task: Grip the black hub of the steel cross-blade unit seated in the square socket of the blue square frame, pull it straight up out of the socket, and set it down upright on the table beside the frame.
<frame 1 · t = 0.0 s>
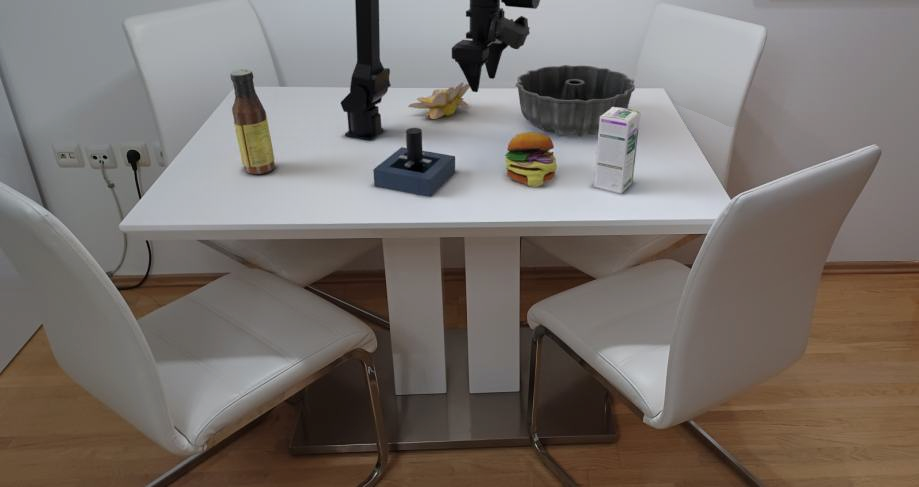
hand: (483, 84, 143), 15 cm above the table, tool pointing down, fingers open, 9 cm apart
syrup box: (612, 186, 137), on the table
cheeseburger: (529, 176, 141), on the table
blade: (414, 155, 137), in the blue square frame
blue square frame: (415, 179, 140), on the table
sauce bottle: (259, 170, 144), on the table
decorative flower: (444, 113, 172), on the table
bundt pan: (571, 124, 166), on the table
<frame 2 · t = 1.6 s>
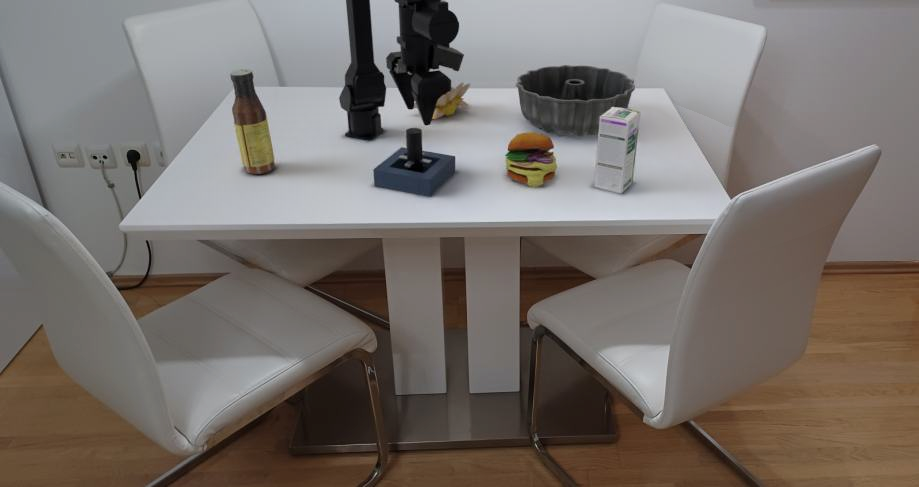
hand: (418, 116, 134), 12 cm above the table, tool pointing down, fingers open, 9 cm apart
nothing on the table moved.
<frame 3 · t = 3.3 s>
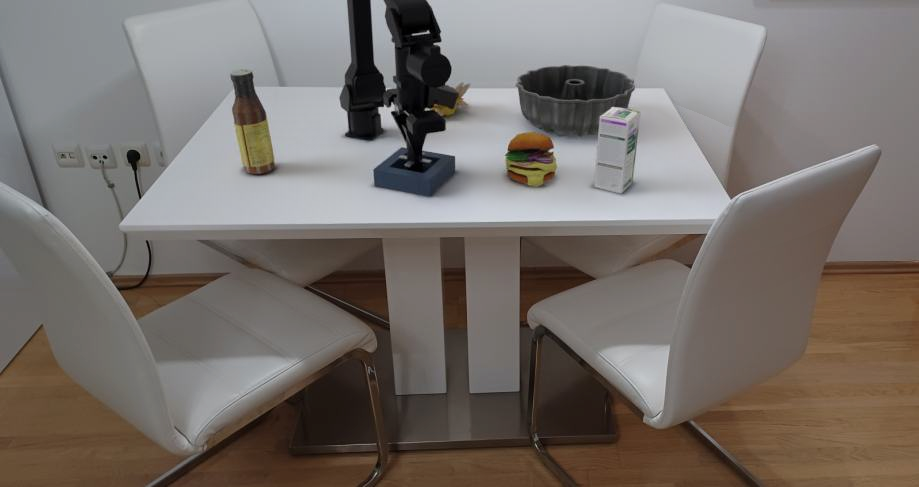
hand: (414, 152, 137), 6 cm above the table, tool pointing down, fingers closed on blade, 3 cm apart
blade: (414, 155, 137), in the blue square frame, touching gripper
everything else where it was.
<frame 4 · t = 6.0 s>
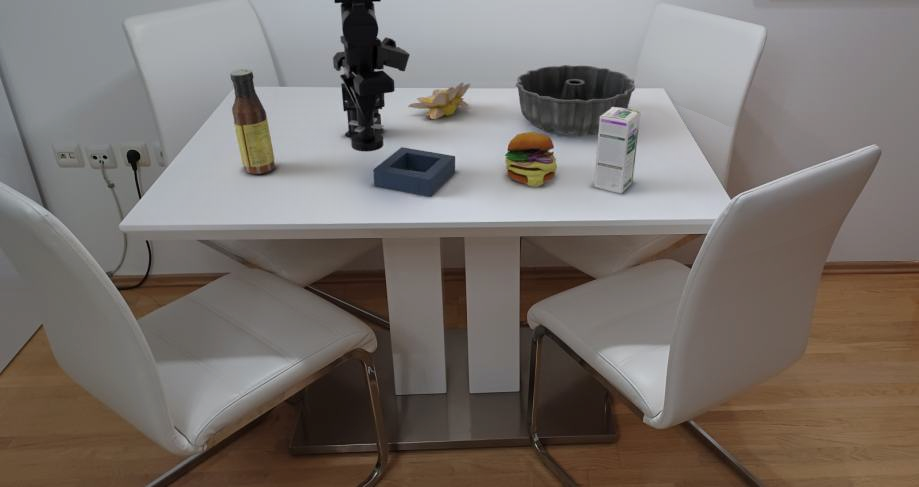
hand: (365, 117, 132), 13 cm above the table, tool pointing down, fingers closed on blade, 3 cm apart
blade: (365, 120, 133), point 12 cm above the table, touching gripper
everything else where it was.
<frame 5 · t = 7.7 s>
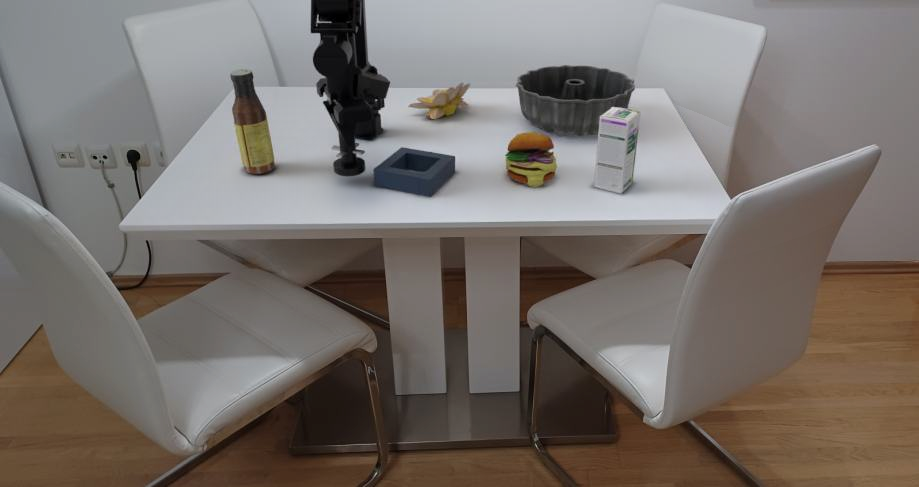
hand: (347, 143, 135), 8 cm above the table, tool pointing down, fingers closed on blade, 3 cm apart
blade: (347, 145, 135), point 8 cm above the table, touching gripper
everything else where it was.
when the fingers open (5 cm above the table, at t = 8.8 s): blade stays where it is, on the table.
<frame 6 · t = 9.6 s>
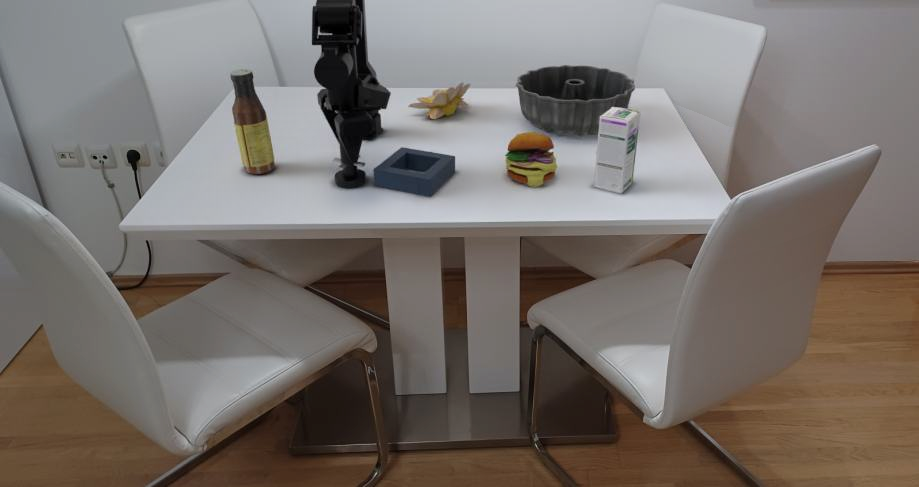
hand: (348, 153, 136), 6 cm above the table, tool pointing down, fingers open, 9 cm apart
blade: (348, 157, 136), on the table
everything else where it was.
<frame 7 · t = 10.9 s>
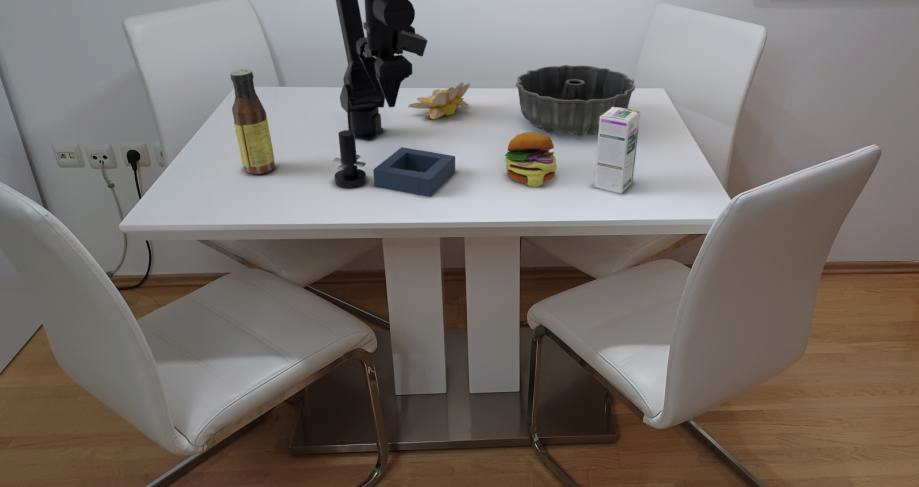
hand: (385, 99, 141), 13 cm above the table, tool pointing down, fingers open, 9 cm apart
nothing on the table moved.
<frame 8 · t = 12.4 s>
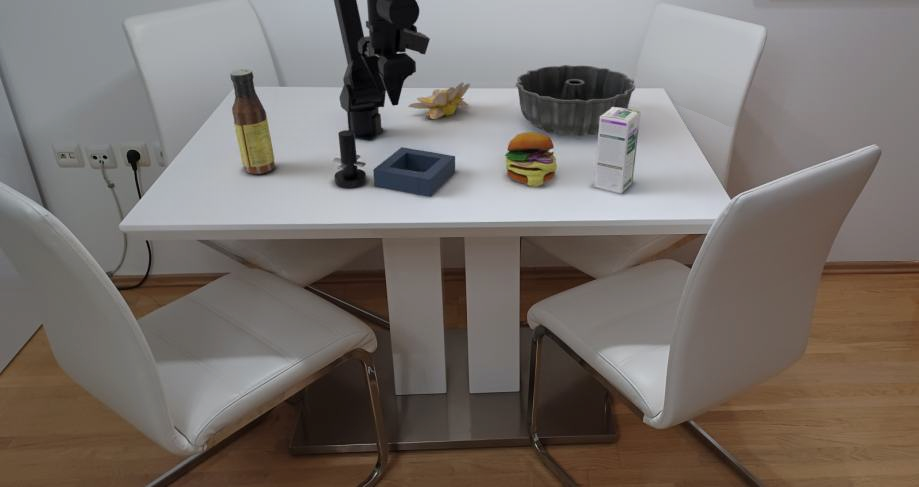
hand: (388, 97, 142), 13 cm above the table, tool pointing down, fingers open, 9 cm apart
nothing on the table moved.
at the end: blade inside the target area (0.1 cm from its centre), on the table; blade tilted 0°; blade touching table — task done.
